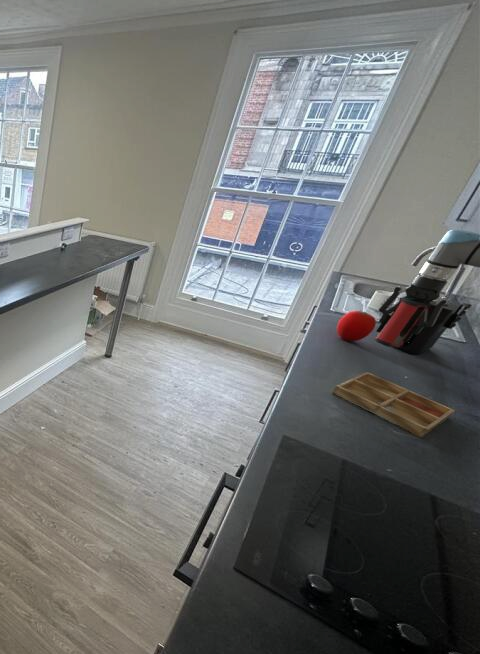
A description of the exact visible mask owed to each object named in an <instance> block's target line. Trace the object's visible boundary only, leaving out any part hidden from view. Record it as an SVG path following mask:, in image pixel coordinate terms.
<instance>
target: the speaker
mask: <svg viewBox="0 0 480 654" xmlns="http://www.w3.org/2000/svg"><path fill="white" fill-rule="evenodd" d="M407 298H408V297H407V295H405V296H402V297H401V298H400V301H401V303H400V304H399V306H398V307H397V309H396V310H394V311H393V312H392V313H391V314H390V315H391V316H390V318H389V319H388V321H387V322H386V324H385V325H384V327H383V328H382V329H381V331H380V332H378V333H377V335H376V336H375V337H374V338H373V339H374V341H375V342H376V343H378V344H381V345H383V346H384V347H390V348H393V349H396V348H399V347H402V345H404V343H405V342H404V339H405V338H406V336H407V335H408V334H409V332H410V331H411V330H412V328H413V327H414V325H416V324H417V323H418V322H419V317H420V316H421V315H422V313H423V312H424V311H425V309H426V310H427V309H428V308H430V306H431V303H430V302H421V301H417V300H413V298H408V299H407ZM409 299H410V300H409ZM412 300H413V301H412ZM419 302H421V303H419ZM424 303H429V304H424ZM420 314H421V315H420Z"/></svg>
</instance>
